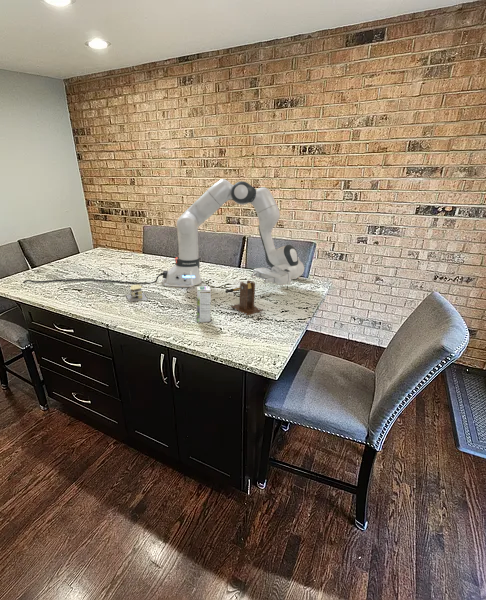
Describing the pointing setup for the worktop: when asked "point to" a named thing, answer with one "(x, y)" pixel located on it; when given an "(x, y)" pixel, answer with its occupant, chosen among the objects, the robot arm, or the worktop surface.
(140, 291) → the stacked layers on plate
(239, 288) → the lever
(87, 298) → the worktop surface
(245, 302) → the bracket
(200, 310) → the syrup box
